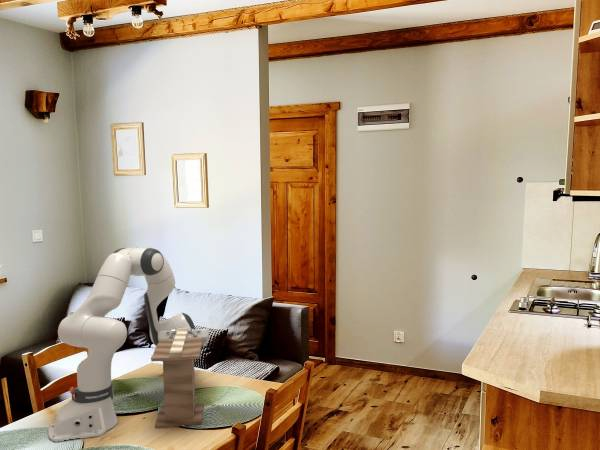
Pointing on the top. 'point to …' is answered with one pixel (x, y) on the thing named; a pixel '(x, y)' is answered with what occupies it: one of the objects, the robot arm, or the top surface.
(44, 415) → the top surface
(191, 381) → the walnut stand
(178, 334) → the birch slat
